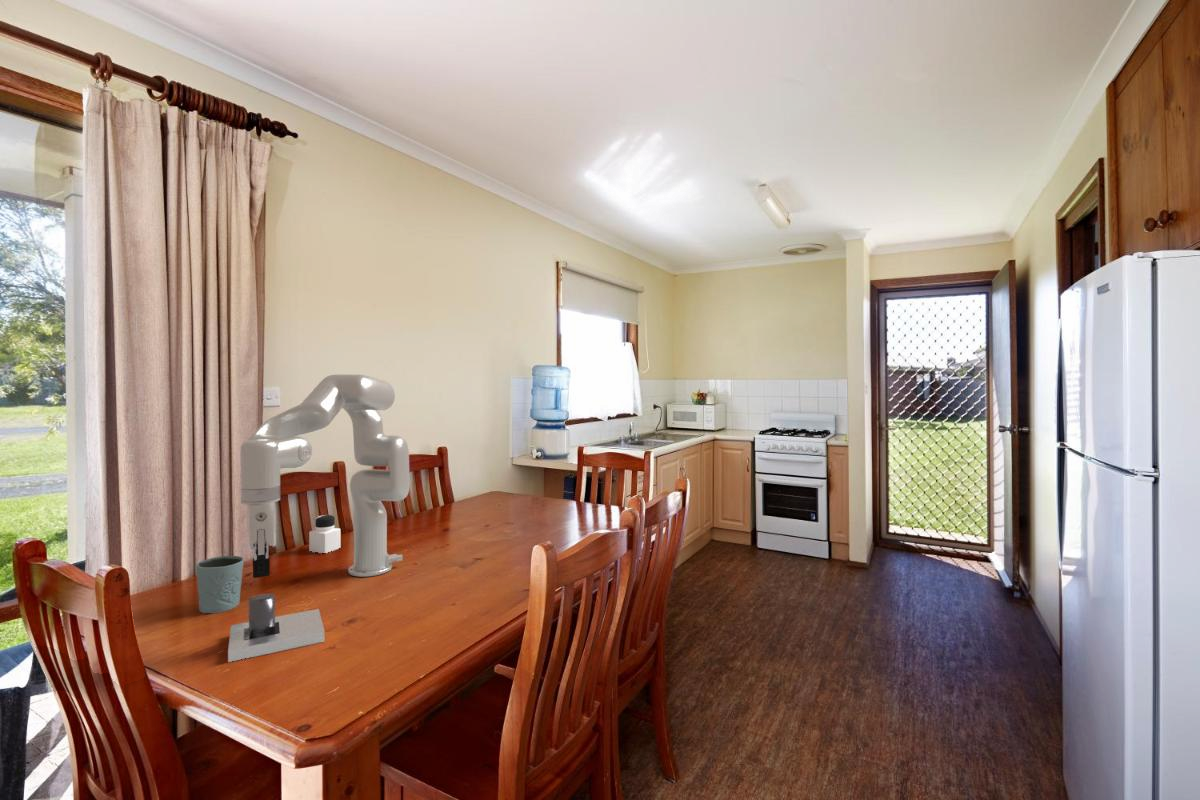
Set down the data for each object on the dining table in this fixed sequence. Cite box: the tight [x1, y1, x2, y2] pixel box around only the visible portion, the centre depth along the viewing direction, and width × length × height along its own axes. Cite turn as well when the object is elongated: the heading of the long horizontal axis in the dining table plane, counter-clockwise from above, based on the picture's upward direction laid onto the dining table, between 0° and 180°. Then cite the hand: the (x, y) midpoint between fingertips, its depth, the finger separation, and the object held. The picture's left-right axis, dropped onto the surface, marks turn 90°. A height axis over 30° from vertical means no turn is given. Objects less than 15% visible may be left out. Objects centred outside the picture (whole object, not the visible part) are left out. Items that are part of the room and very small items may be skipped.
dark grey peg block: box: [248, 593, 276, 640], centre depth 123 cm, size 5×5×10 cm
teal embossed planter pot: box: [195, 555, 245, 614], centre depth 141 cm, size 10×10×12 cm
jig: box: [227, 608, 325, 663], centre depth 124 cm, size 18×14×2 cm
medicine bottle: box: [308, 514, 342, 554], centre depth 190 cm, size 7×7×12 cm
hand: (261, 575), depth 122 cm, fingers closed
